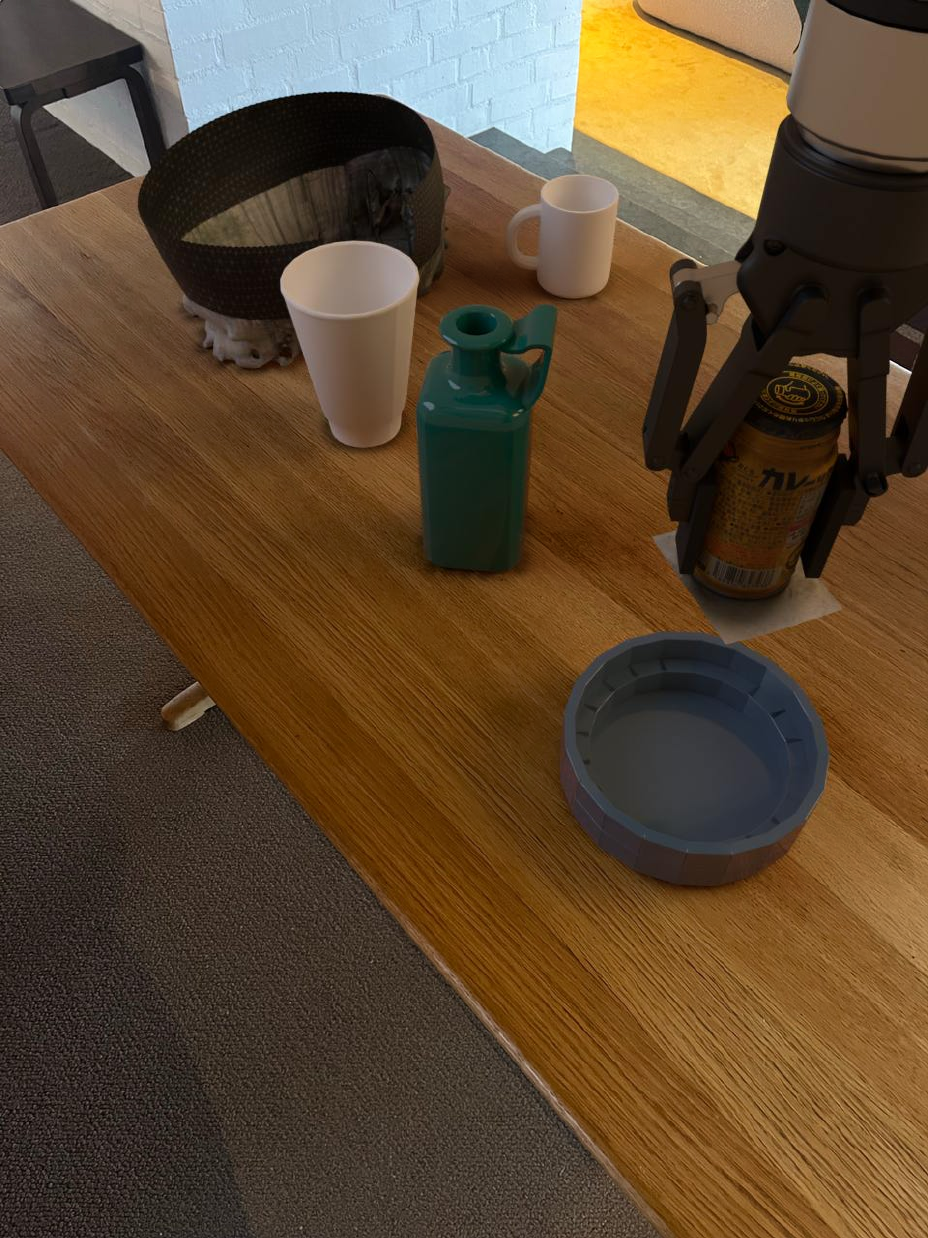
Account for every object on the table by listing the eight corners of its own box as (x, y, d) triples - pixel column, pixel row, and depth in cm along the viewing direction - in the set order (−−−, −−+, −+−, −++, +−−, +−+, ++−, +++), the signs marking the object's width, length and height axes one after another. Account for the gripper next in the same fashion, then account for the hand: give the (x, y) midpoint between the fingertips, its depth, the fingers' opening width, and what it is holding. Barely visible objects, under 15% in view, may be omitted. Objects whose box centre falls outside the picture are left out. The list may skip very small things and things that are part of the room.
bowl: (784, 678, 74) (803, 634, 70) (828, 895, 63) (854, 859, 59) (556, 671, 75) (561, 627, 71) (561, 885, 64) (567, 848, 60)
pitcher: (420, 568, 82) (406, 349, 65) (435, 499, 87) (426, 280, 70) (534, 579, 81) (550, 361, 64) (543, 509, 86) (560, 290, 69)
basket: (519, 327, 104) (525, 180, 91) (200, 409, 96) (159, 259, 83) (424, 206, 120) (418, 67, 108) (145, 267, 112) (104, 124, 99)
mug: (505, 302, 107) (507, 214, 99) (501, 262, 112) (503, 175, 104) (612, 300, 107) (623, 211, 99) (604, 260, 112) (613, 172, 104)
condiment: (760, 508, 57) (816, 336, 48) (842, 611, 52) (922, 440, 43) (651, 539, 56) (686, 367, 46) (724, 648, 51) (780, 479, 41)
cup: (369, 371, 99) (354, 225, 87) (451, 422, 94) (448, 274, 82) (280, 425, 94) (250, 277, 81) (361, 483, 89) (343, 334, 76)
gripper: (1114, 85, 37) (904, 515, 55) (618, 78, 38) (571, 505, 56) (1199, 180, 32) (939, 616, 50) (630, 170, 33) (574, 604, 51)
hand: (746, 557), depth 53 cm, fingers closed on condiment, 6 cm apart
